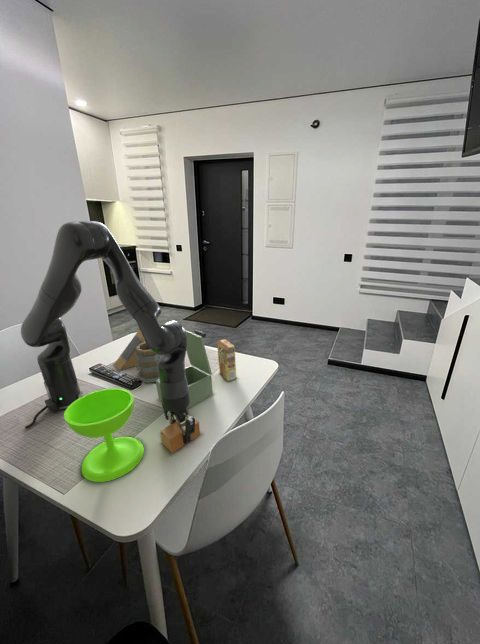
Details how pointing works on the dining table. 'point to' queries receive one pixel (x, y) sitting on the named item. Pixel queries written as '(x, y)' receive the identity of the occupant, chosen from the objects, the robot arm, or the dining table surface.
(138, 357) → the tankard
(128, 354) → the sandwich container
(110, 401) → the wineglass
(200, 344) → the lid
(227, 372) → the candy box
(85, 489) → the dining table surface
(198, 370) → the bin
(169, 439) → the orange-brown rectangular block
